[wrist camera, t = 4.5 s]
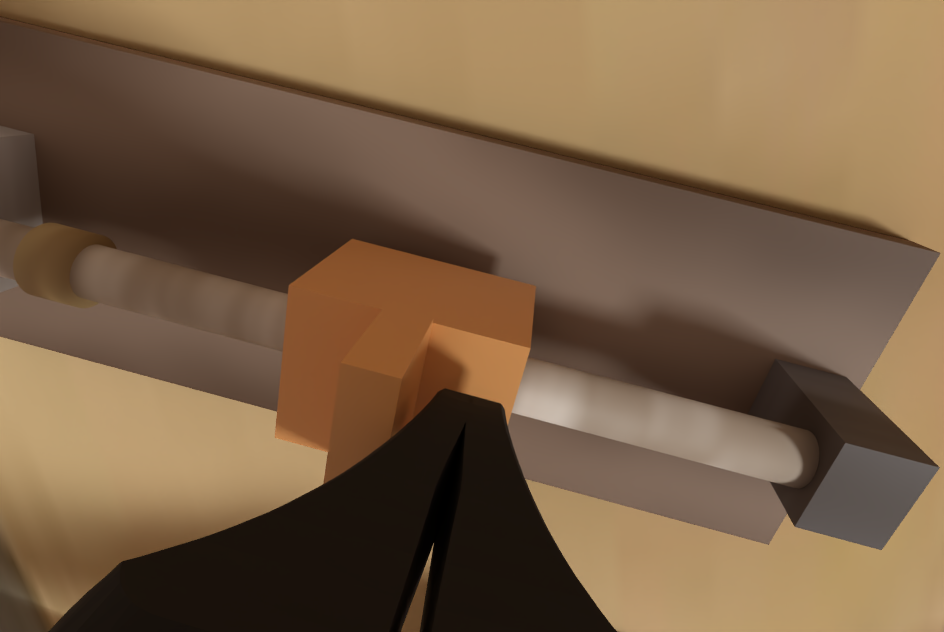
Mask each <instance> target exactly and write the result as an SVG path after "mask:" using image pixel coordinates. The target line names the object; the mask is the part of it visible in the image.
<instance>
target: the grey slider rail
mask: <svg viewBox="0 0 944 632" xmlns="http://www.w3.org/2000/svg"><path fill="white" fill-rule="evenodd" d="M351 239H355V240H359V241H363V242H367V243H371V244H375V245H378V246H382V247H386V248H390V249H394V250H398V251H402V252H406V253H410V254H414V255H417V256H421V257H425V258H429V259H433V260H437V261H441V262H445V263H449V264H453V265H456V266H460V267H464V268H468V269H472V270H476V271H480V272H484V273H488V274H492V275H495V276H499V277H503V278H507V279H511V280H515V281H519V282H523V283H527V284H530V285H534V286H536V292H535V303H534V315H533V326H532V338H531V349H530V352H529V355H528V359H527V362H526V365H525V369H524V372H523V376H522V379H521V382H520V386H519V389H518V392H517V396H516V399H515V403H514V406H513V409H512V413H511V416H510V419H509V423H508V429H509V433H510V437H511V440H512V443H513V447H514V450H515V453H516V456H517V459H518V461H519V464H520V467H521V470H522V472H523V475H524V478H525V479H528V480H532V481H535V482H539V483H543V484H547V485H550V486H554V487H558V488H561V489H565V490H569V491H572V492H576V493H580V494H583V495H587V496H591V497H595V498H598V499H602V500H606V501H609V502H613V503H617V504H620V505H624V506H628V507H631V508H635V509H639V510H642V511H646V512H650V513H654V514H657V515H661V516H665V517H668V518H672V519H676V520H679V521H683V522H687V523H690V524H694V525H698V526H702V527H705V528H709V529H713V530H716V531H720V532H724V533H727V534H731V535H735V536H738V537H742V538H746V539H750V540H753V541H757V542H761V543H764V544H768V545H769V543H770V541H771V540H772V538H773V536H774V535H775V533H776V531H777V530H778V528H779V526H780V524H781V523H782V521H783V519H784V518H785V516H786V514H788V516H789V517H790V519H791V521H792V523H793V525H794V526H795V527H798V528H801V529H805V530H809V531H813V532H816V533H820V534H824V535H827V536H831V537H835V538H839V539H842V540H846V541H850V542H853V543H857V544H861V545H865V546H868V547H872V548H876V549H879V550H882V549H883V547H884V546H885V545H886V543H887V542H888V540H889V539H890V537H891V536H892V535H893V533H894V532H895V530H896V529H897V528H898V526H899V525H900V523H901V522H902V520H903V519H904V518H905V516H906V515H907V513H908V512H909V511H910V509H911V508H912V506H913V505H914V503H915V502H916V501H917V499H918V498H919V496H920V495H921V494H922V492H923V491H924V489H925V488H926V486H927V485H928V484H929V482H930V481H931V479H932V478H933V476H934V475H935V474H936V472H937V471H938V469H939V468H940V467H939V466H938V465H937V464H935V463H934V462H933V461H932V460H931V459H930V458H929V457H928V456H927V455H926V454H925V453H924V452H923V451H922V450H921V449H920V448H919V447H918V446H917V445H916V444H915V443H914V442H913V441H912V440H911V439H910V438H909V437H908V436H907V435H906V434H905V433H904V432H903V431H902V430H901V429H899V428H898V427H897V426H896V425H895V424H894V423H893V422H892V421H891V420H890V419H889V418H888V417H887V416H886V415H885V414H884V413H883V412H882V411H881V410H880V409H879V408H878V407H877V406H876V405H875V404H874V403H873V402H872V401H871V400H870V399H869V398H868V397H867V396H866V395H864V394H863V393H862V392H861V391H860V389H861V387H862V385H863V384H864V382H865V380H866V379H867V377H868V375H869V374H870V372H871V370H872V368H873V367H874V365H875V363H876V362H877V360H878V358H879V357H880V355H881V353H882V352H883V350H884V348H885V346H886V345H887V343H888V341H889V340H890V338H891V336H892V335H893V333H894V331H895V329H896V328H897V326H898V324H899V323H900V321H901V319H902V318H903V316H904V314H905V313H906V311H907V309H908V307H909V306H910V304H911V302H912V301H913V299H914V297H915V296H916V294H917V292H918V290H919V289H920V287H921V285H922V284H923V282H924V280H925V279H926V277H927V275H928V274H929V272H930V270H931V268H932V267H933V265H934V263H935V262H936V260H937V258H938V257H939V255H940V253H939V252H936V251H934V250H932V249H929V248H927V247H924V246H922V245H920V244H917V243H915V242H912V241H909V240H905V239H901V238H897V237H892V236H888V235H884V234H880V233H876V232H872V231H868V230H864V229H860V228H856V227H852V226H848V225H844V224H840V223H836V222H832V221H827V220H823V219H819V218H815V217H811V216H807V215H803V214H799V213H795V212H791V211H787V210H783V209H779V208H775V207H771V206H767V205H763V204H758V203H754V202H750V201H746V200H742V199H738V198H734V197H730V196H726V195H722V194H718V193H714V192H710V191H706V190H702V189H698V188H693V187H689V186H685V185H681V184H677V183H673V182H669V181H665V180H661V179H657V178H653V177H649V176H645V175H641V174H637V173H633V172H628V171H624V170H620V169H616V168H612V167H608V166H604V165H600V164H596V163H592V162H588V161H584V160H580V159H576V158H572V157H568V156H564V155H559V154H555V153H551V152H547V151H543V150H539V149H535V148H531V147H527V146H523V145H519V144H515V143H511V142H507V141H503V140H499V139H494V138H490V137H486V136H482V135H478V134H474V133H470V132H466V131H462V130H458V129H454V128H450V127H446V126H442V125H438V124H434V123H430V122H425V121H421V120H417V119H413V118H409V117H405V116H401V115H397V114H393V113H389V112H385V111H381V110H377V109H373V108H369V107H365V106H360V105H356V104H352V103H348V102H344V101H340V100H336V99H332V98H328V97H324V96H320V95H316V94H312V93H308V92H304V91H300V90H295V89H291V88H287V87H283V86H279V85H275V84H271V83H267V82H263V81H259V80H255V79H251V78H247V77H243V76H239V75H235V74H231V73H226V72H222V71H218V70H214V69H210V68H206V67H202V66H198V65H194V64H190V63H186V62H182V61H178V60H174V59H170V58H166V57H161V56H157V55H153V54H149V53H145V52H141V51H137V50H133V49H129V48H125V47H121V46H117V45H113V44H109V43H105V42H101V41H97V40H92V39H88V38H84V37H80V36H76V35H72V34H68V33H64V32H60V31H56V30H52V29H48V28H44V27H40V26H36V25H32V24H27V23H23V22H19V21H15V20H11V19H7V18H3V17H0V337H4V338H8V339H11V340H15V341H19V342H22V343H26V344H30V345H34V346H37V347H41V348H45V349H48V350H52V351H56V352H59V353H63V354H67V355H70V356H74V357H78V358H82V359H85V360H89V361H93V362H96V363H100V364H104V365H107V366H111V367H115V368H118V369H122V370H126V371H130V372H133V373H137V374H141V375H144V376H148V377H152V378H155V379H159V380H163V381H166V382H170V383H174V384H177V385H181V386H185V387H189V388H192V389H196V390H200V391H203V392H207V393H211V394H214V395H218V396H222V397H225V398H229V399H233V400H237V401H240V402H244V403H248V404H251V405H255V406H259V407H262V408H266V409H270V410H273V411H277V408H278V397H279V386H280V375H281V364H282V353H283V342H284V331H285V320H286V310H287V299H288V288H289V285H290V284H291V283H292V282H294V281H295V280H297V279H298V278H299V277H301V276H302V275H303V274H305V273H306V272H307V271H309V270H310V269H312V268H313V267H314V266H316V265H317V264H318V263H320V262H321V261H322V260H324V259H325V258H327V257H328V256H329V255H331V254H332V253H333V252H335V251H336V250H337V249H339V248H340V247H342V246H343V245H344V244H346V243H347V242H348V241H350V240H351Z"/></svg>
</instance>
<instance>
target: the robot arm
mask: <svg viewBox="0 0 944 632" xmlns="http://www.w3.org/2000/svg"><path fill="white" fill-rule="evenodd" d="M433 543H434V546H433ZM432 546H433V552H432V559H431V565H430V571H429V577H428V584H427V590H426V596H425V603H424V609H423V615H422V622H421V628H420V632H617V631H616V630H615V629H614V628H613V626H612V625H611V624H610V623H609V621H608V620H607V619H606V617H605V616H604V615H603V614H602V612H601V611H600V609H599V608H598V607H597V605H596V604H595V602H594V601H593V600H592V598H591V597H590V595H589V594H588V593H587V591H586V590H585V588H584V587H583V586H582V584H581V583H580V581H579V580H578V579H577V577H576V576H575V574H574V573H573V571H572V569H571V568H570V566H569V565H568V563H567V561H566V560H565V558H564V557H563V555H562V553H561V551H560V550H559V548H558V546H557V544H556V543H555V541H554V539H553V537H552V536H551V534H550V532H549V530H548V528H547V526H546V524H545V522H544V520H543V518H542V516H541V514H540V512H539V510H538V508H537V506H536V503H535V501H534V499H533V497H532V495H531V492H530V490H529V488H528V485H527V483H526V480H525V478H524V475H523V472H522V470H521V467H520V464H519V461H518V459H517V456H516V453H515V450H514V447H513V443H512V440H511V437H510V433H509V429H508V425H507V420H506V415H505V409H504V408H503V406H502V404H501V403H498V402H494V401H490V400H487V399H483V398H479V397H476V396H472V395H468V394H464V393H461V392H457V391H453V390H450V389H446V388H444V389H442V390H440V391H438V392H437V394H436V395H435V396H434V397H433V399H432V400H431V401H430V402H429V403H428V404H427V405H426V406H425V407H424V408H423V409H422V410H421V411H420V412H419V413H418V414H417V415H416V416H415V417H414V418H413V419H412V420H411V421H410V422H409V423H408V424H406V425H405V426H404V427H403V428H402V429H401V430H400V431H398V432H397V433H396V434H395V435H394V436H393V437H391V438H390V439H389V440H388V441H386V442H385V443H384V444H382V445H381V446H380V447H378V448H377V449H376V450H374V451H373V452H372V453H371V454H369V455H368V456H367V457H365V458H364V459H362V460H361V461H360V462H358V463H357V464H355V465H354V466H352V467H351V468H349V469H348V470H346V471H344V472H343V473H341V474H340V475H338V476H336V477H335V478H333V479H331V480H330V481H328V482H326V483H325V484H323V485H321V486H320V487H318V488H316V489H314V490H312V491H310V492H308V493H306V494H304V495H302V496H301V497H299V498H297V499H295V500H293V501H291V502H289V503H287V504H285V505H283V506H281V507H279V508H277V509H274V510H272V511H270V512H268V513H266V514H263V515H261V516H258V517H256V518H253V519H251V520H248V521H246V522H243V523H241V524H239V525H236V526H234V527H231V528H228V529H226V530H223V531H220V532H218V533H215V534H212V535H209V536H206V537H203V538H200V539H197V540H194V541H191V542H187V543H184V544H181V545H178V546H174V547H171V548H168V549H164V550H161V551H158V552H154V553H151V554H148V555H144V556H141V557H137V558H134V559H130V560H126V561H123V562H121V563H120V564H118V565H117V566H116V567H115V568H114V569H113V570H112V571H111V572H110V573H109V574H108V575H107V576H106V577H105V578H103V579H102V580H101V581H100V582H99V583H98V584H96V585H95V586H94V587H93V588H92V589H91V590H89V591H88V592H87V593H86V594H85V595H84V596H83V597H82V598H81V599H80V600H79V601H78V602H77V603H76V604H75V605H74V606H73V607H72V608H71V609H69V610H68V612H67V613H66V614H65V615H64V616H63V617H62V618H61V619H60V620H59V621H58V622H57V623H56V624H55V625H54V626H53V628H52V629H51V630H50V631H49V632H401V629H402V626H403V623H404V621H405V618H406V615H407V613H408V610H409V607H410V605H411V602H412V599H413V597H414V594H415V591H416V589H417V586H418V583H419V581H420V578H421V575H422V573H423V570H424V567H425V565H426V562H427V559H428V557H429V554H430V551H431V549H432Z"/></svg>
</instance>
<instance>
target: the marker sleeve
mask: <svg viewBox="0 0 944 632" xmlns="http://www.w3.org/2000/svg"><path fill="white" fill-rule="evenodd" d="M535 292H536V286H534V285H530V284H527V283H523V282H519V281H515V280H511V279H507V278H503V277H499V276H495V275H492V274H488V273H484V272H480V271H476V270H472V269H468V268H464V267H460V266H456V265H453V264H449V263H445V262H441V261H437V260H433V259H429V258H425V257H421V256H417V255H414V254H410V253H406V252H402V251H398V250H394V249H390V248H386V247H382V246H378V245H375V244H371V243H367V242H363V241H359V240H355V239H351V240H350V241H348V242H347V243H346V244H344V245H343V246H342V247H340V248H339V249H337V250H336V251H335V252H333V253H332V254H331V255H329V256H328V257H327V258H325V259H324V260H322V261H321V262H320V263H318V264H317V265H316V266H314V267H313V268H312V269H310V270H309V271H307V272H306V273H305V274H303V275H302V276H301V277H299V278H298V279H297V280H295V281H294V282H292V283H291V284H290V285H289V288H288V299H287V310H286V320H285V331H284V342H283V353H282V364H281V375H280V386H279V397H278V408H277V419H276V430H275V438H278V439H282V440H286V441H289V442H293V443H297V444H300V445H304V446H308V447H311V448H315V449H319V450H322V451H326V452H328V456H327V463H326V470H325V477H324V484H325V483H326V482H328V481H330V480H331V479H333V478H335V477H336V476H338V475H340V474H341V473H343V472H344V471H346V470H348V469H349V468H351V467H352V466H354V465H355V464H357V463H358V462H360V461H361V460H362V459H364V458H365V457H367V456H368V455H369V454H371V453H372V452H373V451H374V450H376V449H377V448H378V447H380V446H381V445H382V444H384V443H385V442H386V441H388V440H389V439H390V438H391V437H393V436H394V435H395V434H396V433H397V432H398V431H400V430H401V429H402V428H403V427H404V426H405V425H406V424H408V423H409V422H410V421H411V420H412V419H413V418H414V417H415V416H416V415H417V414H418V413H419V412H420V411H421V410H422V409H423V408H424V407H425V406H426V405H427V404H428V403H429V402H430V401H431V400H432V399H433V397H434V396H435V395H436V394H437V392H438V391H440V390H442V389H444V388H446V389H450V390H453V391H457V392H461V393H464V394H468V395H472V396H476V397H479V398H483V399H487V400H490V401H494V402H498V403H501V404H502V406H503V408H504V409H505V415H506V420H507V425H508V423H509V419H510V416H511V413H512V409H513V406H514V403H515V399H516V396H517V392H518V389H519V386H520V382H521V379H522V376H523V372H524V369H525V365H526V362H527V359H528V355H529V352H530V349H531V338H532V326H533V315H534V303H535Z"/></svg>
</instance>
